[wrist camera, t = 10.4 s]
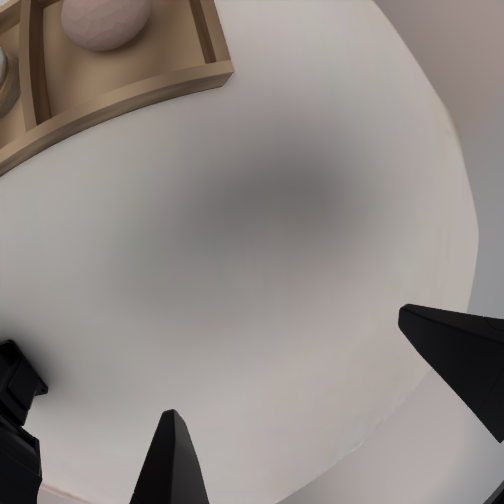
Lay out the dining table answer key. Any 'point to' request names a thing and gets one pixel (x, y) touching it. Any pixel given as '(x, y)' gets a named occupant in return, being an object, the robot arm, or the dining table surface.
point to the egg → (103, 22)
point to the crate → (102, 70)
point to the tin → (8, 82)
